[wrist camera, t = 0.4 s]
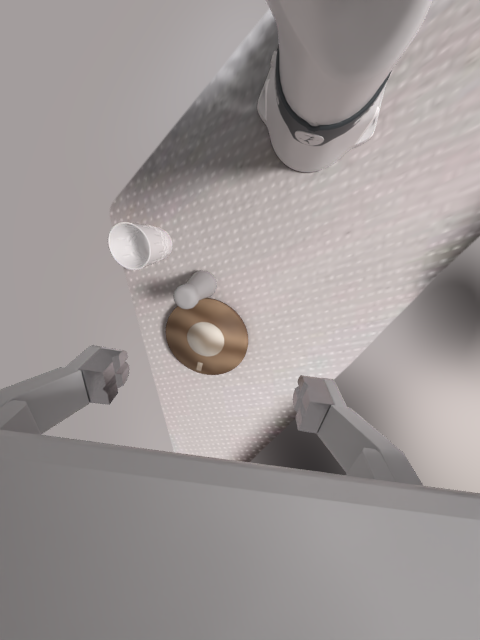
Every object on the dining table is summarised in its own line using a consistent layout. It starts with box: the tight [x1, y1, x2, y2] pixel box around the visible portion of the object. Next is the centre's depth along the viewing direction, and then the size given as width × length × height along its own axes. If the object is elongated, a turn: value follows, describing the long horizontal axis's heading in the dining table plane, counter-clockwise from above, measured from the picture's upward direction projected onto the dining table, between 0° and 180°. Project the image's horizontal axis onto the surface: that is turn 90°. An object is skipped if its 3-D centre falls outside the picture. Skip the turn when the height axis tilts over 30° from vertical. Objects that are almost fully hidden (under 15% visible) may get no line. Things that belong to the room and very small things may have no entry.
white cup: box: [108, 222, 173, 270], centre depth 42 cm, size 8×8×10 cm
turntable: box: [166, 298, 248, 375], centre depth 52 cm, size 20×20×1 cm
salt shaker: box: [173, 270, 217, 309], centre depth 42 cm, size 6×6×13 cm
